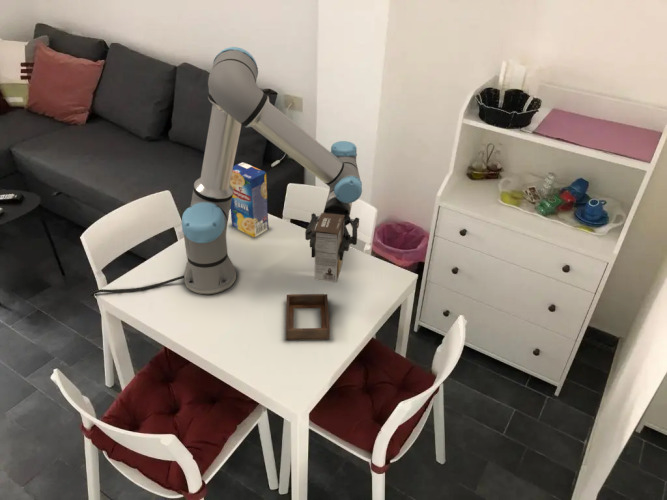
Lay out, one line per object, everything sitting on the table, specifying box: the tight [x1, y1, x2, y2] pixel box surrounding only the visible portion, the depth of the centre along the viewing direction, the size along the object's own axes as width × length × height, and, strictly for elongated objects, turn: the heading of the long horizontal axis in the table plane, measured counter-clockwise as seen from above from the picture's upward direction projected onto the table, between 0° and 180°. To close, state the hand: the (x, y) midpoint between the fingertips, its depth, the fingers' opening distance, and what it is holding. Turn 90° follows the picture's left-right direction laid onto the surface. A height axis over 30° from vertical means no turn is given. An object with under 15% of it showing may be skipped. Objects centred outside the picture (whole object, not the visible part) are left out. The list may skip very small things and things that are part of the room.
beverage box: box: [230, 161, 269, 238], centre depth 181 cm, size 7×11×22 cm, turn 52°
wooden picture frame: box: [285, 293, 331, 341], centre depth 149 cm, size 12×15×4 cm
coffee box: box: [314, 212, 345, 283], centre depth 143 cm, size 9×6×16 cm
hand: (327, 254), depth 138 cm, fingers closed on coffee box, 7 cm apart
